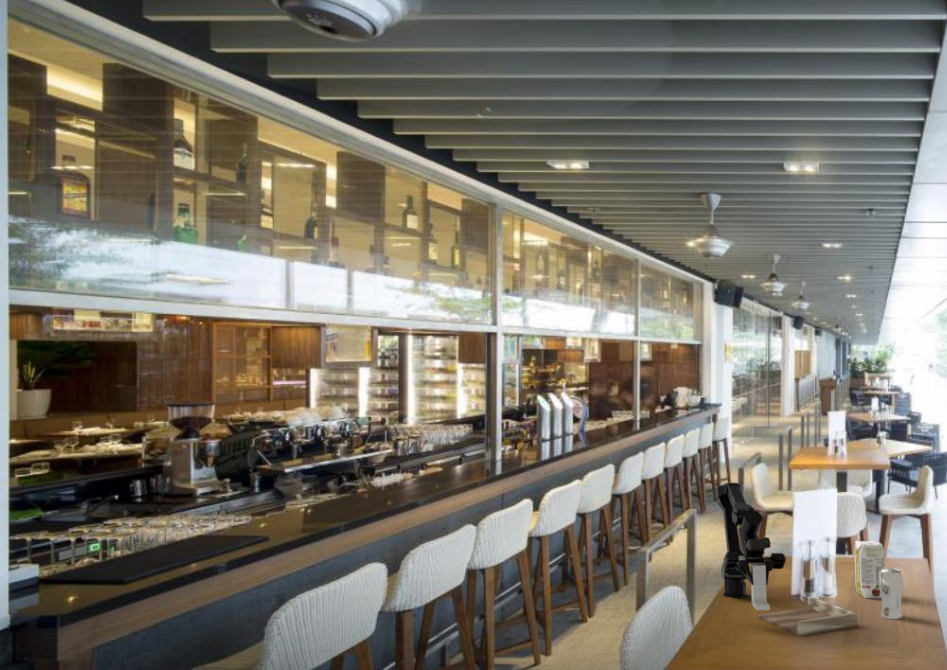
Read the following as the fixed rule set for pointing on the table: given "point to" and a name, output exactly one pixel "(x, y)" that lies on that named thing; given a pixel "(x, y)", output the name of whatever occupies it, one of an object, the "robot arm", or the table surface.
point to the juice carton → (868, 568)
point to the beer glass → (891, 592)
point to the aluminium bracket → (759, 587)
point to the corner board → (812, 618)
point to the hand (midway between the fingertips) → (759, 584)
